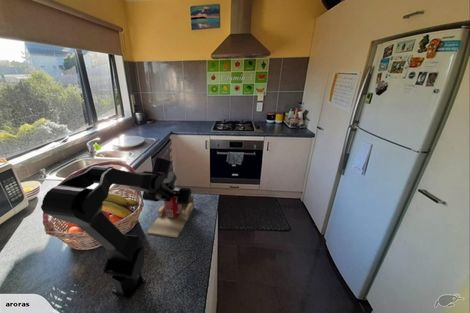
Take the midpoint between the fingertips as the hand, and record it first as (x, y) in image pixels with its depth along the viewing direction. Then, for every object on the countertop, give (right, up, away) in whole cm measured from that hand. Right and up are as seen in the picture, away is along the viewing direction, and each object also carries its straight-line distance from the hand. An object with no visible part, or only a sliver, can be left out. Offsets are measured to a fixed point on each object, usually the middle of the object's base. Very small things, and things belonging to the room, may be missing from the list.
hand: (174, 198), depth 86 cm
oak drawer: (-1, -9, 0) cm, 9 cm away
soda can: (-1, -7, +1) cm, 7 cm away
